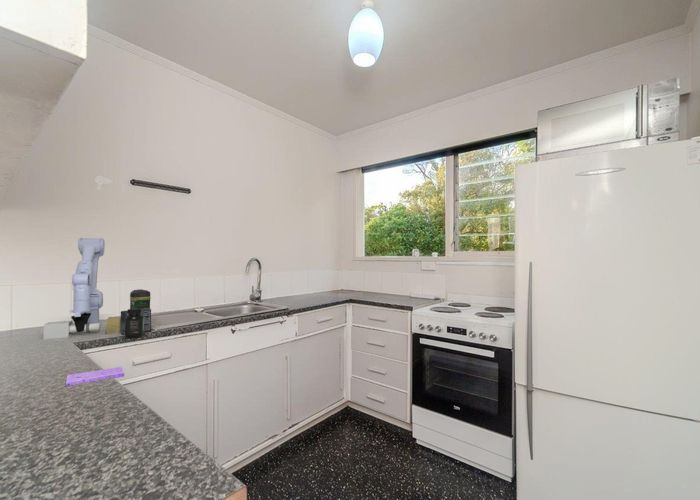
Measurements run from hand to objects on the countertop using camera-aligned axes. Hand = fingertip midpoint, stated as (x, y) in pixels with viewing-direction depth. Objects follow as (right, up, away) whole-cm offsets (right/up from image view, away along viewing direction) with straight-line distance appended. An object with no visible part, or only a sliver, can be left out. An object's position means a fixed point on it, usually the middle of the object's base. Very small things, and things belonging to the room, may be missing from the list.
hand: (81, 330), depth 142 cm
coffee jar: (+15, -3, +17) cm, 23 cm away
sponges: (+48, -1, -52) cm, 71 cm away
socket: (+10, -2, +6) cm, 12 cm away
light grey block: (-7, -2, -4) cm, 8 cm away
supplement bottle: (+26, -2, -4) cm, 26 cm away
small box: (+22, -2, +4) cm, 22 cm away
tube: (-2, -1, -1) cm, 3 cm away
